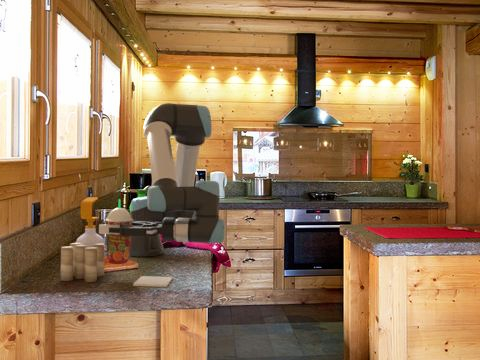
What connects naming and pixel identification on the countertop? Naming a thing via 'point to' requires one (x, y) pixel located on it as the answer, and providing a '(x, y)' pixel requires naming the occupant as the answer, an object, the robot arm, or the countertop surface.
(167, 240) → the robot arm
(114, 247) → the smoothie
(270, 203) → the countertop surface
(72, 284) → the countertop surface
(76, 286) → the countertop surface
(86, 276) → the spacer posts
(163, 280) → the plate
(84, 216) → the soap bottle
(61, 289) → the countertop surface
